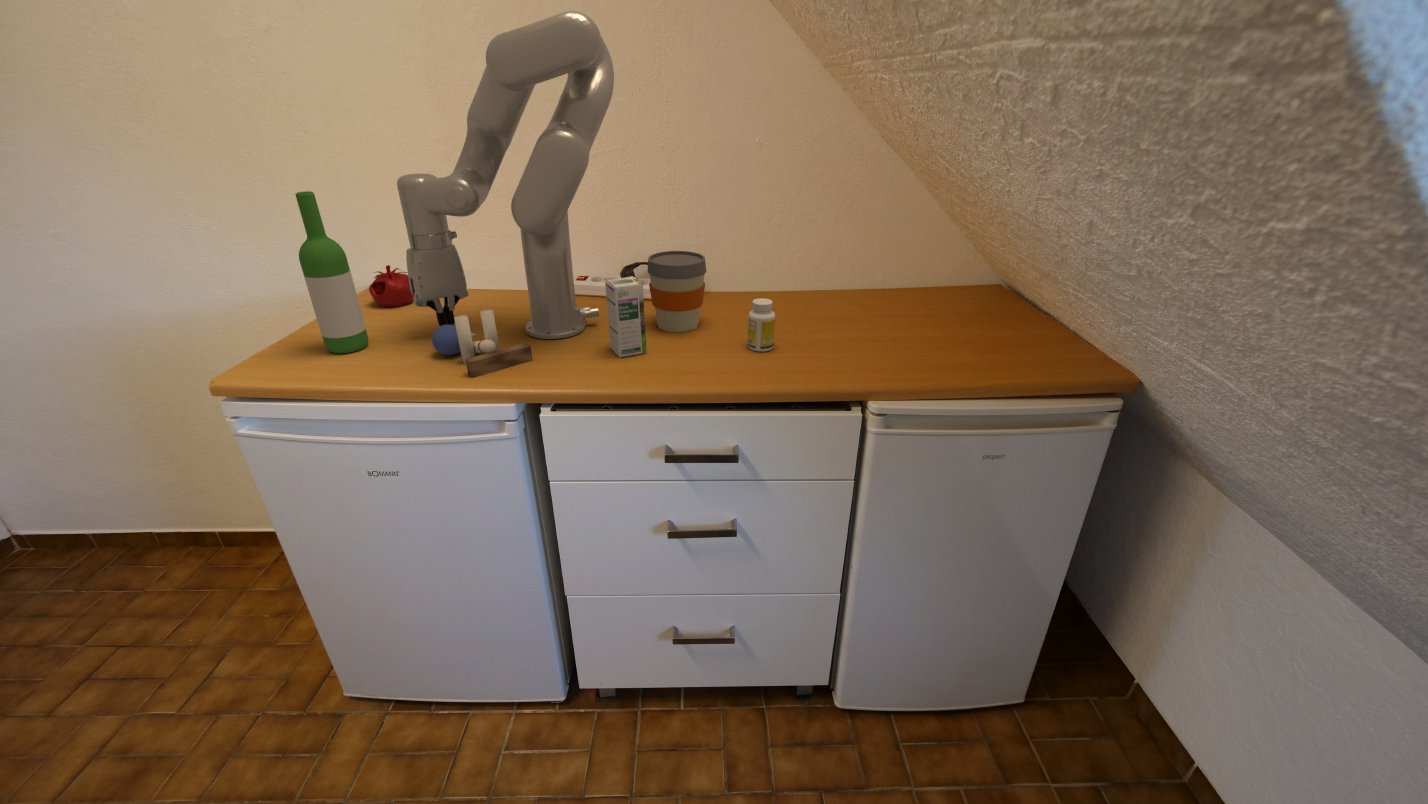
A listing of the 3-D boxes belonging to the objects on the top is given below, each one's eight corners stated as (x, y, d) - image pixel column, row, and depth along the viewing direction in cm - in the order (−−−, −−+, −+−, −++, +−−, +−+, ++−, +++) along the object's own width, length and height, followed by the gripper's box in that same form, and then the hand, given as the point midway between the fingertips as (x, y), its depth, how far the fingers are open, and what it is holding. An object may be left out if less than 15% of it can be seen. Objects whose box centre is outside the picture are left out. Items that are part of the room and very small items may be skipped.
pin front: (479, 341, 124) (495, 339, 117) (480, 353, 124) (496, 352, 117) (466, 341, 123) (481, 339, 116) (467, 354, 123) (482, 352, 116)
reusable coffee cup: (673, 340, 131) (671, 269, 124) (638, 323, 139) (635, 257, 132) (717, 326, 138) (718, 259, 131) (682, 311, 147) (681, 247, 140)
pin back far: (475, 358, 122) (466, 314, 117) (476, 362, 120) (468, 318, 116) (462, 360, 121) (453, 316, 116) (463, 365, 119) (455, 320, 115)
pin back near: (499, 351, 125) (492, 308, 120) (501, 356, 123) (494, 312, 118) (486, 353, 124) (479, 310, 119) (488, 358, 122) (481, 314, 118)
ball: (469, 340, 120) (473, 334, 126) (441, 321, 118) (447, 316, 123) (450, 364, 120) (455, 357, 126) (422, 345, 118) (428, 339, 124)
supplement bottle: (776, 344, 129) (779, 298, 125) (769, 354, 125) (772, 307, 120) (751, 340, 131) (753, 295, 126) (744, 350, 126) (745, 304, 122)
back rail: (527, 356, 122) (525, 342, 121) (532, 360, 121) (530, 345, 120) (468, 374, 115) (465, 359, 114) (472, 377, 114) (469, 362, 113)
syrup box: (619, 358, 122) (615, 286, 115) (609, 348, 127) (604, 278, 120) (646, 353, 125) (643, 282, 118) (636, 343, 129) (632, 274, 122)
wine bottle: (340, 358, 121) (293, 198, 107) (318, 349, 125) (270, 193, 111) (378, 345, 127) (338, 191, 113) (355, 337, 130) (314, 187, 116)
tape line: (473, 334, 133) (473, 333, 133) (475, 335, 132) (475, 334, 132) (435, 343, 128) (435, 342, 128) (437, 345, 127) (437, 344, 127)
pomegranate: (413, 295, 156) (406, 257, 152) (421, 305, 149) (414, 267, 145) (369, 300, 151) (361, 262, 147) (375, 312, 144) (366, 272, 140)
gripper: (459, 232, 130) (474, 315, 139) (383, 243, 121) (404, 331, 130) (474, 238, 125) (489, 324, 134) (397, 250, 116) (417, 342, 125)
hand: (447, 328), depth 132 cm, fingers closed
